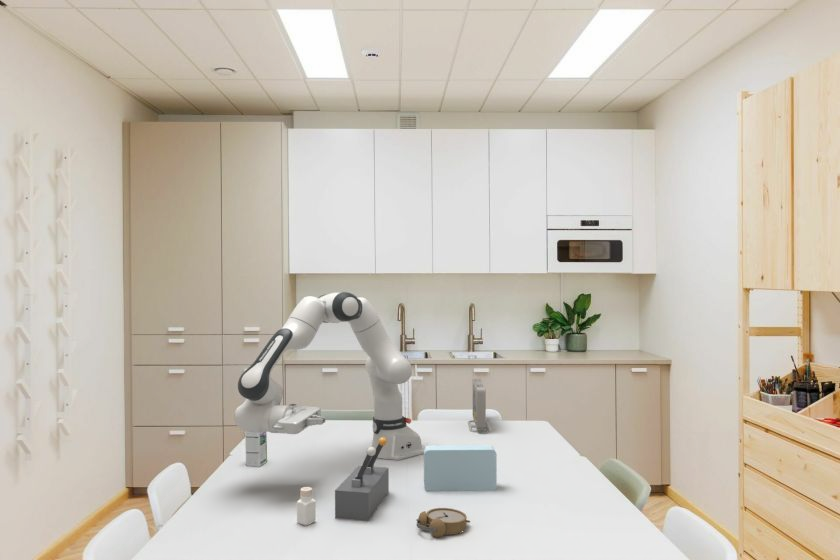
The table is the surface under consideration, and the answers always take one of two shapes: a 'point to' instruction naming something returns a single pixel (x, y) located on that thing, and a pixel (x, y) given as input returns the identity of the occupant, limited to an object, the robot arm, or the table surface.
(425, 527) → the alarm clock
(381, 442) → the orange lever
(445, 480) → the light blue rounded box
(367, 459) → the grey lever
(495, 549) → the table surface
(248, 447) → the syrup box
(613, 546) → the table surface
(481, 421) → the network device
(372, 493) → the switch box
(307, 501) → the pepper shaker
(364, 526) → the table surface
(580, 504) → the table surface
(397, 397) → the robot arm
